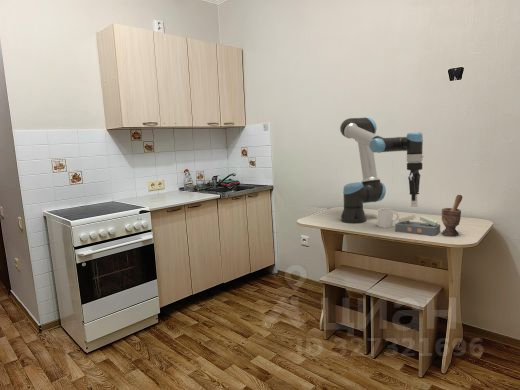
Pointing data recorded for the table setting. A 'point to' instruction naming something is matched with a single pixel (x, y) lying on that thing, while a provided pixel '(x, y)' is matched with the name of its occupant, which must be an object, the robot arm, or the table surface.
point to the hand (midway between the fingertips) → (414, 206)
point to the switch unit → (417, 228)
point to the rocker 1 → (407, 218)
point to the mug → (386, 217)
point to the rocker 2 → (428, 220)
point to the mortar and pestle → (452, 218)
